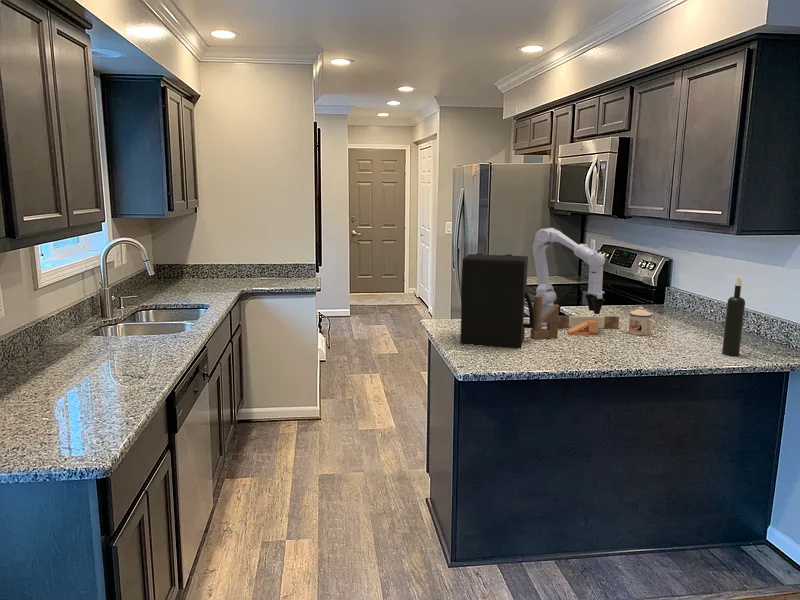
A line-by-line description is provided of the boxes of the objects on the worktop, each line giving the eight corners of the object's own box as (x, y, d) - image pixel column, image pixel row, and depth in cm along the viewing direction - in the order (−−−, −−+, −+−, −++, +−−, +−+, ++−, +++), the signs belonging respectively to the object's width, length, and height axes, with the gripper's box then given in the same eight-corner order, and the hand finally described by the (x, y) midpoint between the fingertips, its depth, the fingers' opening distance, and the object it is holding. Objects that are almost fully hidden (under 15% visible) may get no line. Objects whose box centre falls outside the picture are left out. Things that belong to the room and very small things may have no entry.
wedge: (569, 335, 256) (570, 322, 255) (567, 333, 261) (567, 319, 260) (598, 335, 256) (598, 322, 255) (594, 333, 261) (595, 319, 259)
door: (570, 327, 269) (571, 316, 268) (570, 327, 270) (570, 316, 269) (604, 328, 269) (604, 317, 268) (603, 327, 270) (604, 316, 269)
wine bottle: (719, 354, 229) (728, 276, 223) (724, 351, 233) (733, 274, 227) (736, 357, 225) (745, 278, 219) (741, 354, 229) (750, 276, 223)
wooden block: (557, 338, 251) (559, 296, 248) (533, 339, 250) (535, 297, 246) (554, 336, 255) (556, 294, 252) (530, 337, 253) (531, 295, 250)
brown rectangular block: (555, 328, 269) (556, 316, 268) (554, 327, 271) (555, 315, 270) (618, 328, 269) (619, 316, 268) (617, 328, 270) (618, 316, 269)
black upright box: (534, 337, 252) (538, 255, 246) (531, 349, 234) (535, 260, 227) (468, 333, 260) (470, 252, 253) (460, 344, 241) (462, 258, 235)
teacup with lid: (623, 332, 262) (625, 306, 260) (637, 330, 267) (639, 304, 265) (646, 338, 252) (648, 311, 250) (660, 335, 257) (663, 309, 254)
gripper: (610, 283, 253) (608, 315, 255) (599, 279, 267) (598, 308, 269) (593, 284, 253) (592, 315, 255) (583, 279, 267) (582, 309, 269)
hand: (594, 312), depth 262 cm, fingers open, 7 cm apart
